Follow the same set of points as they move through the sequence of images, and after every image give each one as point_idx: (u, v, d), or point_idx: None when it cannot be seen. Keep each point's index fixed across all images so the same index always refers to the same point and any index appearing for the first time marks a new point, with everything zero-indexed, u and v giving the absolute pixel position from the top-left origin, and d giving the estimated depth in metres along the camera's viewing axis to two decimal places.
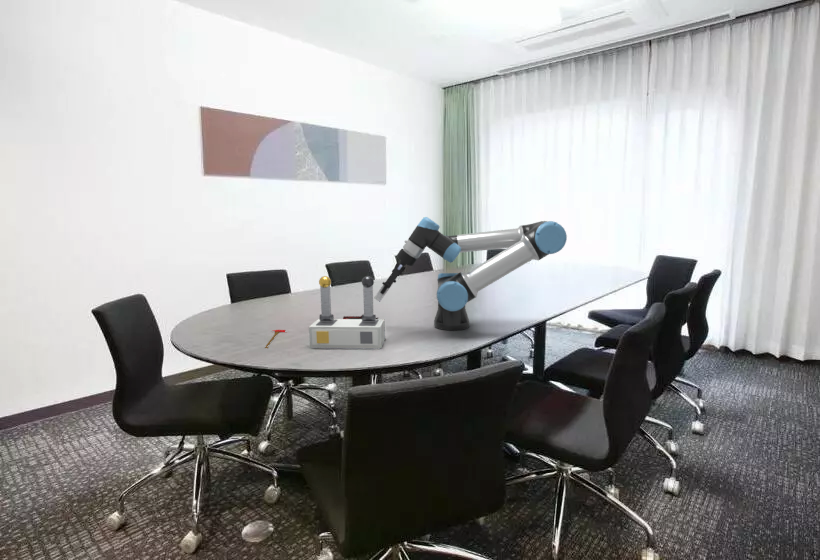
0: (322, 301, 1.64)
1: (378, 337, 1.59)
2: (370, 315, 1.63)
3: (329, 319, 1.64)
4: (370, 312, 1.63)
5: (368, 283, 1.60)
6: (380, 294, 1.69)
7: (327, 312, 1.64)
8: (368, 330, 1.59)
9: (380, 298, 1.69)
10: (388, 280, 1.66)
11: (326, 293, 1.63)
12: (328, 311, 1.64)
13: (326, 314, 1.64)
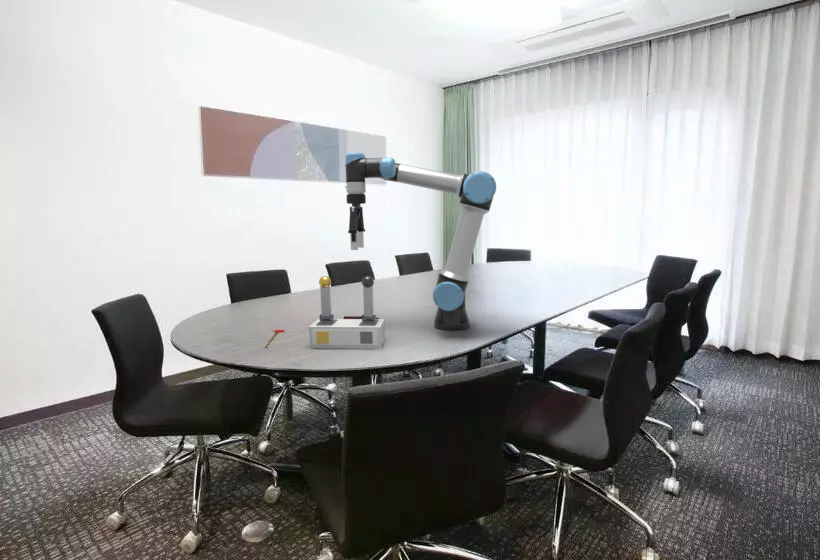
0: (322, 301, 1.64)
1: (378, 337, 1.59)
2: (370, 315, 1.63)
3: (329, 319, 1.64)
4: (370, 312, 1.63)
5: (368, 283, 1.60)
6: (353, 243, 1.71)
7: (327, 312, 1.64)
8: (368, 330, 1.59)
9: (356, 246, 1.71)
10: (350, 226, 1.68)
11: (326, 293, 1.63)
12: (328, 311, 1.64)
13: (326, 314, 1.64)
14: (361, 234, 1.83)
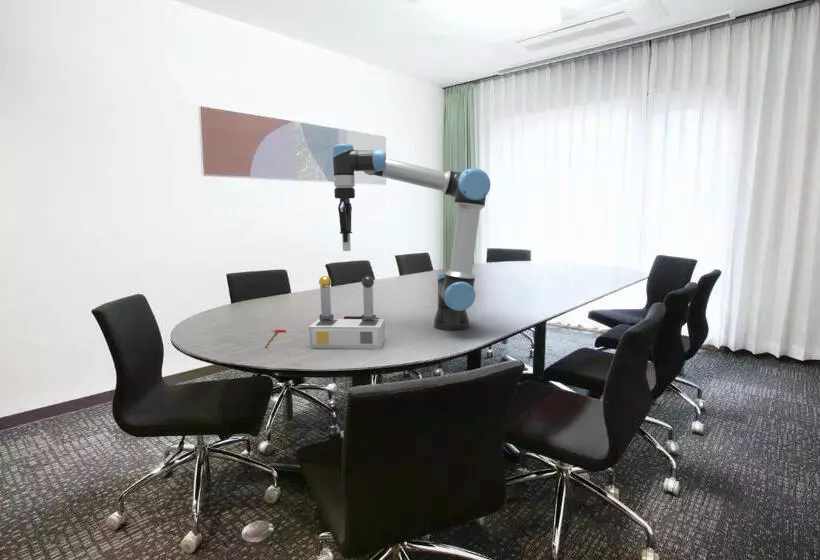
0: (322, 301, 1.64)
1: (378, 337, 1.59)
2: (370, 315, 1.63)
3: (329, 319, 1.64)
4: (370, 312, 1.63)
5: (368, 283, 1.60)
6: (345, 244, 1.67)
7: (327, 312, 1.64)
8: (368, 330, 1.59)
9: (348, 247, 1.67)
10: (341, 227, 1.63)
11: (326, 293, 1.63)
12: (328, 311, 1.64)
13: (326, 314, 1.64)
14: None
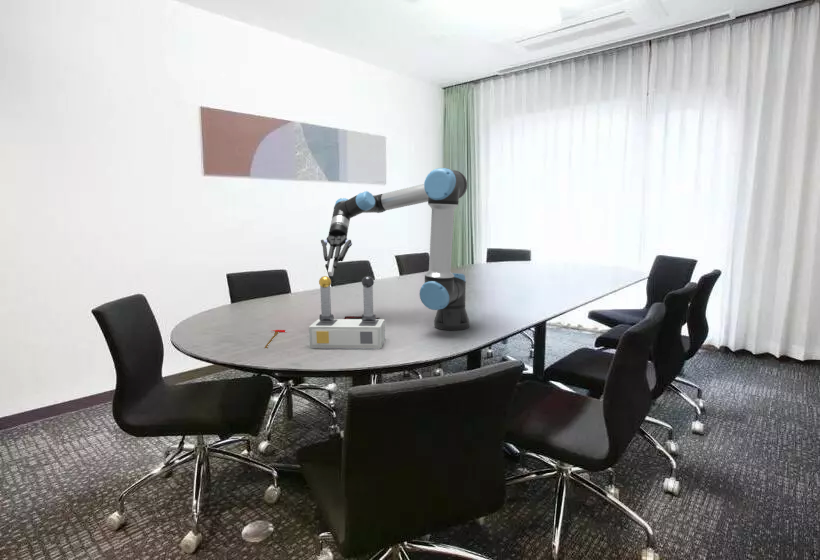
0: (322, 301, 1.64)
1: (378, 337, 1.59)
2: (370, 315, 1.63)
3: (329, 319, 1.64)
4: (370, 312, 1.63)
5: (368, 283, 1.60)
6: None
7: (327, 312, 1.64)
8: (368, 330, 1.59)
9: None
10: None
11: (326, 293, 1.63)
12: (328, 311, 1.64)
13: (326, 314, 1.64)
14: None
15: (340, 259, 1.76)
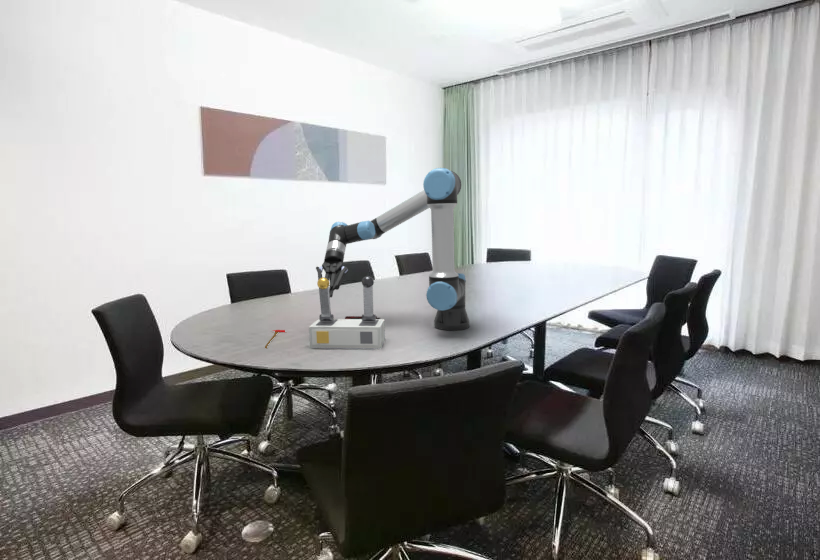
0: (321, 302, 1.63)
1: (378, 337, 1.59)
2: (370, 315, 1.63)
3: (329, 319, 1.65)
4: (370, 312, 1.63)
5: (368, 283, 1.60)
6: None
7: (326, 313, 1.64)
8: (368, 330, 1.59)
9: None
10: None
11: (325, 294, 1.62)
12: (328, 312, 1.64)
13: (326, 315, 1.64)
14: None
15: (336, 288, 1.70)
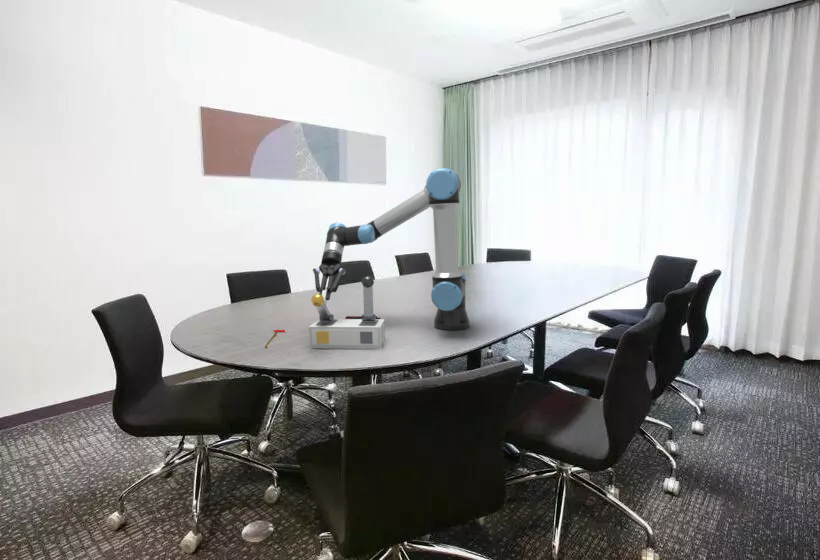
0: (319, 311, 1.60)
1: (378, 337, 1.59)
2: (370, 315, 1.63)
3: (330, 320, 1.65)
4: (370, 312, 1.63)
5: (368, 283, 1.60)
6: None
7: (326, 317, 1.63)
8: (368, 330, 1.59)
9: None
10: None
11: (321, 308, 1.57)
12: (327, 316, 1.63)
13: (326, 318, 1.64)
14: None
15: (333, 290, 1.65)
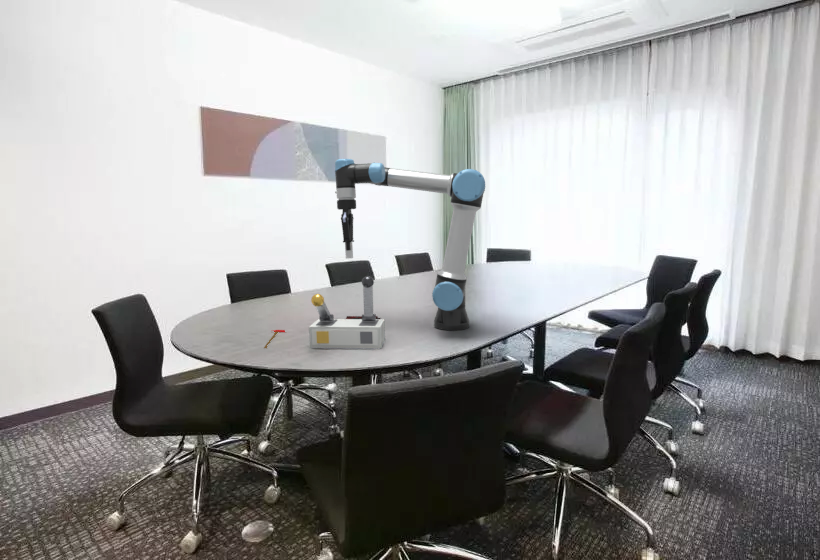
0: (319, 311, 1.60)
1: (378, 337, 1.59)
2: (370, 315, 1.63)
3: (330, 320, 1.65)
4: (370, 312, 1.63)
5: (368, 283, 1.60)
6: (348, 252, 1.78)
7: (326, 317, 1.63)
8: (368, 330, 1.59)
9: (350, 255, 1.79)
10: (344, 236, 1.74)
11: (321, 308, 1.57)
12: (327, 316, 1.63)
13: (326, 318, 1.64)
14: None
15: None
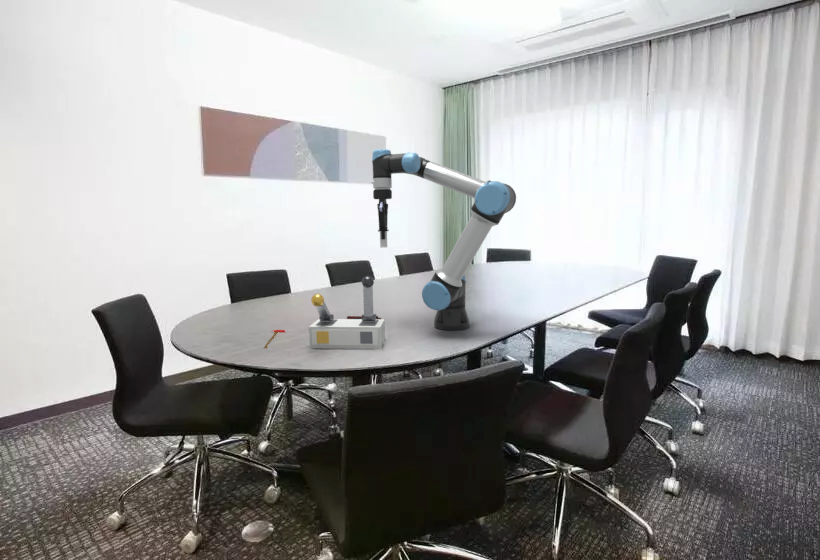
0: (319, 311, 1.60)
1: (378, 337, 1.59)
2: (370, 315, 1.63)
3: (330, 320, 1.65)
4: (370, 312, 1.63)
5: (368, 283, 1.60)
6: (383, 241, 1.82)
7: (326, 317, 1.63)
8: (368, 330, 1.59)
9: (385, 244, 1.82)
10: (380, 225, 1.78)
11: (321, 308, 1.57)
12: (327, 316, 1.63)
13: (326, 318, 1.64)
14: None
15: None
